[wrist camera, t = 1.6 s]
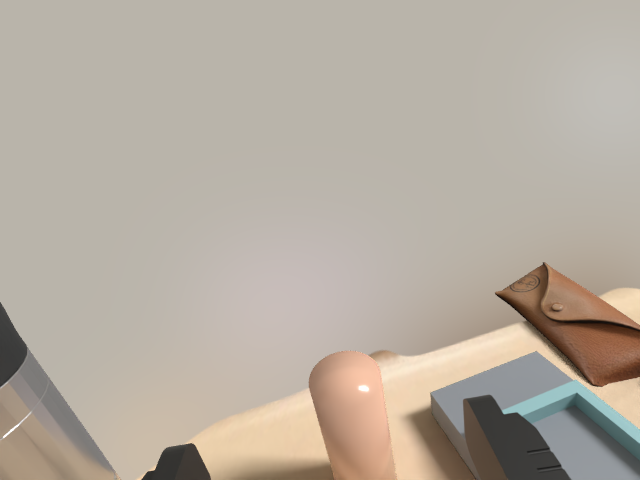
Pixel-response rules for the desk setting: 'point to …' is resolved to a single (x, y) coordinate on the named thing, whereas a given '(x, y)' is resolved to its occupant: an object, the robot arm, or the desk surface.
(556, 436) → the platform
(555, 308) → the sunglasses case
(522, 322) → the desk surface
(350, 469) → the glossy peach cylinder
